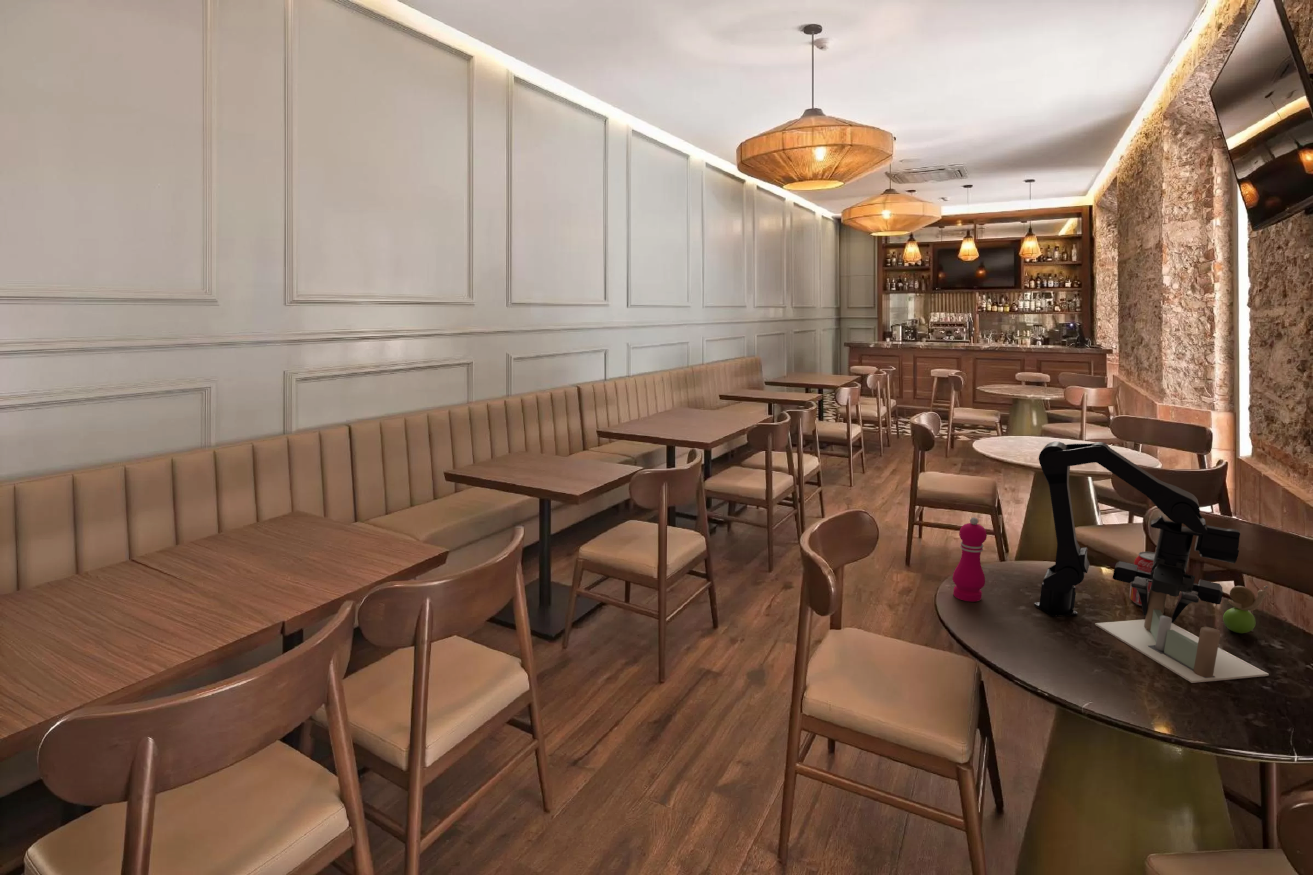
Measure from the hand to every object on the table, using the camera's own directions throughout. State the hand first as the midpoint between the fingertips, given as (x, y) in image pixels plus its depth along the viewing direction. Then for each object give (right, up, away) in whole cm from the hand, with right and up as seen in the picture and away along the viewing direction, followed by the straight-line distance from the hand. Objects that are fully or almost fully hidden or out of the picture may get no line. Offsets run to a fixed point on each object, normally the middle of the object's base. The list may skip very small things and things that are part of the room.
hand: (1158, 618), depth 151 cm
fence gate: (-2, -3, -2) cm, 4 cm away
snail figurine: (+18, -4, +1) cm, 19 cm away
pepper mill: (-33, 0, +19) cm, 38 cm away
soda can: (+8, -1, +15) cm, 17 cm away
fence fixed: (-4, -6, -12) cm, 14 cm away
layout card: (-1, -5, -6) cm, 8 cm away
